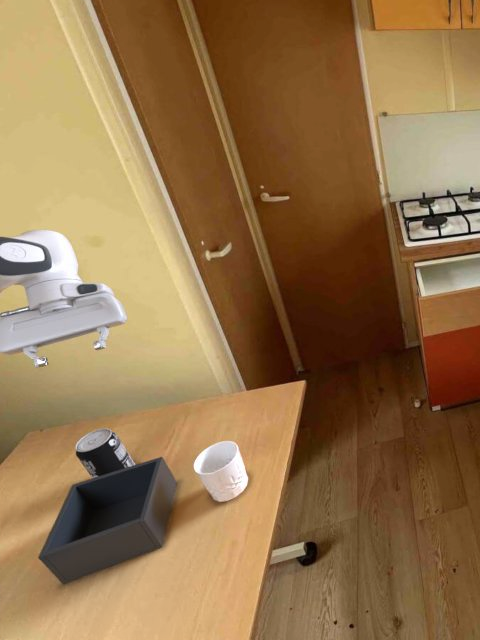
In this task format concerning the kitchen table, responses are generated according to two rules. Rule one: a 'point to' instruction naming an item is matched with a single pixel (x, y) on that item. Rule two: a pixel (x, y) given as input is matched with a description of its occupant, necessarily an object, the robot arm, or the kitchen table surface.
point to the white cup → (222, 470)
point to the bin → (110, 520)
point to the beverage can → (102, 453)
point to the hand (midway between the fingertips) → (72, 357)
